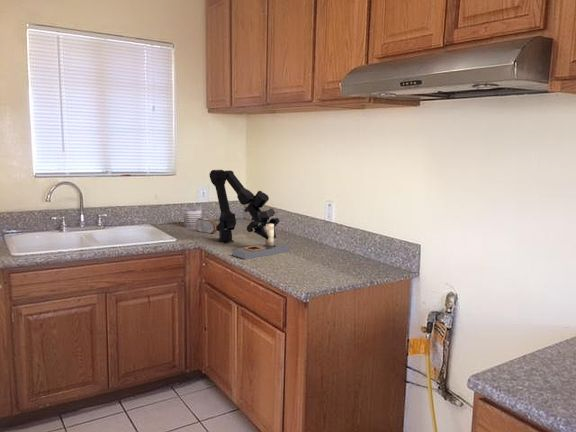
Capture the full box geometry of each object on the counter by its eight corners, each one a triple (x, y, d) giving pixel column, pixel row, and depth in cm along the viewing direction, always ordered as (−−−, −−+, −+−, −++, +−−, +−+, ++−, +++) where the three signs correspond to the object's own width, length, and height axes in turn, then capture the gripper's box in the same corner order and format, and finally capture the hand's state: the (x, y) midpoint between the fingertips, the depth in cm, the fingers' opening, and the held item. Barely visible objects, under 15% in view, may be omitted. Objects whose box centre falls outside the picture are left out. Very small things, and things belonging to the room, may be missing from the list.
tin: (217, 233, 284) (217, 219, 283) (214, 234, 282) (214, 220, 280) (198, 230, 292) (198, 217, 291) (194, 231, 290) (194, 217, 288)
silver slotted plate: (244, 259, 226) (245, 252, 225) (232, 255, 233) (232, 248, 233) (289, 251, 244) (289, 244, 244) (276, 247, 252) (276, 241, 251)
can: (203, 224, 312) (202, 206, 310) (200, 228, 301) (200, 208, 299) (185, 224, 311) (184, 206, 309) (182, 228, 300) (181, 208, 298)
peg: (263, 251, 242) (264, 224, 239) (269, 250, 245) (269, 223, 243) (270, 253, 239) (270, 225, 237) (275, 251, 242) (275, 224, 240)
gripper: (250, 205, 234) (266, 231, 228) (277, 202, 248) (293, 226, 242) (239, 219, 240) (255, 244, 235) (266, 215, 254) (281, 239, 249)
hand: (271, 238), depth 240 cm, fingers open, 5 cm apart
